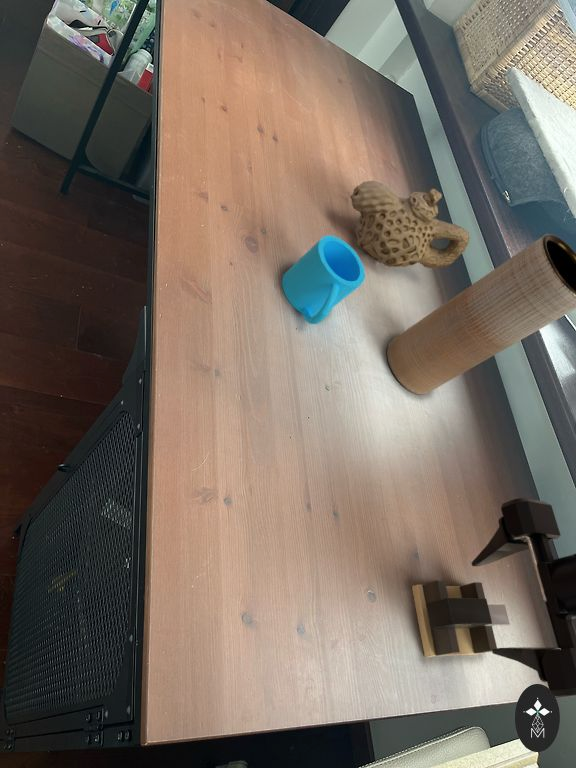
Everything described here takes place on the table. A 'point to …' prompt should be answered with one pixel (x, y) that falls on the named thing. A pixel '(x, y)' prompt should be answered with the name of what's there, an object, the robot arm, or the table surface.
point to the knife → (465, 613)
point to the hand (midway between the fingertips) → (484, 606)
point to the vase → (487, 316)
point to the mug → (323, 278)
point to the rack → (457, 638)
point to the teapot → (404, 227)
